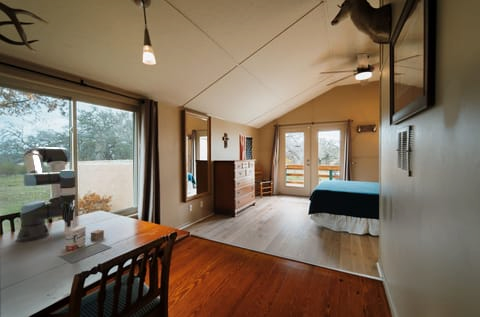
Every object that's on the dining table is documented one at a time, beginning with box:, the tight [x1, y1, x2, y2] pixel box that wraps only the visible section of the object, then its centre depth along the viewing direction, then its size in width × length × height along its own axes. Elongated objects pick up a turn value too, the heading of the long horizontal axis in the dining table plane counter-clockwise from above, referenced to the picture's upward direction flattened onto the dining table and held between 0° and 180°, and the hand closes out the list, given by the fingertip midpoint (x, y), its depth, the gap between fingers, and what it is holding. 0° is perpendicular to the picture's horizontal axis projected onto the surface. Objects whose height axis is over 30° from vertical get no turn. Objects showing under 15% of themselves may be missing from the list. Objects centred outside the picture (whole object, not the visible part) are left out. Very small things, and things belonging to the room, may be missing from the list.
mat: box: [58, 241, 112, 264], centre depth 115 cm, size 14×20×1 cm
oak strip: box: [61, 241, 98, 256], centre depth 118 cm, size 1×18×1 cm, turn 153°
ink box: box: [65, 225, 86, 252], centre depth 121 cm, size 9×5×12 cm, turn 168°
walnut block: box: [90, 229, 105, 242], centre depth 133 cm, size 5×5×5 cm
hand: (67, 231), depth 125 cm, fingers closed
